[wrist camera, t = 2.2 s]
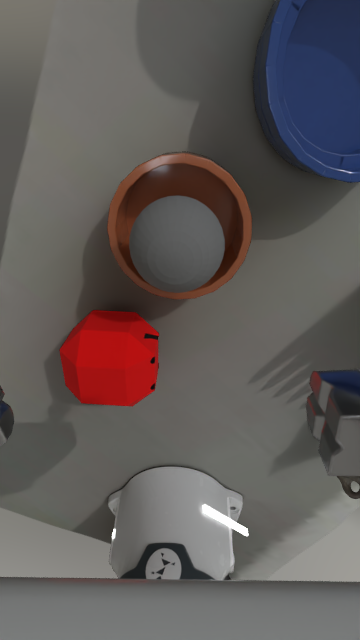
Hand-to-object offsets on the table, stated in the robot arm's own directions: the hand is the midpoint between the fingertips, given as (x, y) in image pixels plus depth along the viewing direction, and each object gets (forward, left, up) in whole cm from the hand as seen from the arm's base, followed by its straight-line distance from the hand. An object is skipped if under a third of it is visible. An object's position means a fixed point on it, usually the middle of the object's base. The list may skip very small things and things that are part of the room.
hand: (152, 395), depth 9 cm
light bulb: (0, 0, -21) cm, 21 cm away
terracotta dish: (0, 0, -21) cm, 21 cm away
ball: (-11, +7, -21) cm, 25 cm away
